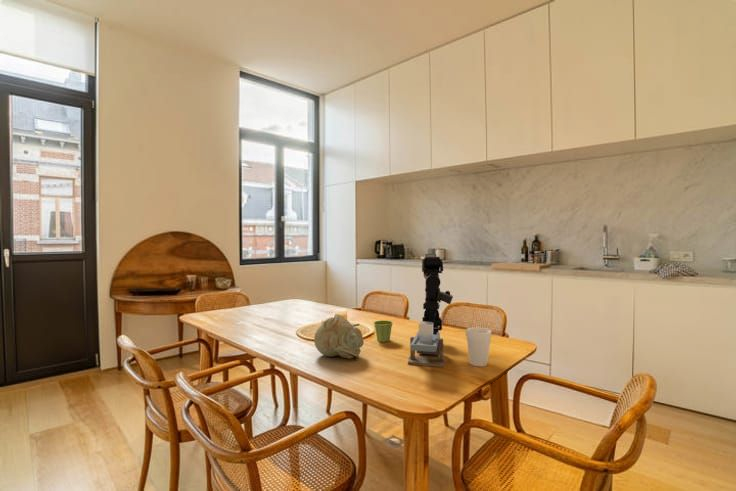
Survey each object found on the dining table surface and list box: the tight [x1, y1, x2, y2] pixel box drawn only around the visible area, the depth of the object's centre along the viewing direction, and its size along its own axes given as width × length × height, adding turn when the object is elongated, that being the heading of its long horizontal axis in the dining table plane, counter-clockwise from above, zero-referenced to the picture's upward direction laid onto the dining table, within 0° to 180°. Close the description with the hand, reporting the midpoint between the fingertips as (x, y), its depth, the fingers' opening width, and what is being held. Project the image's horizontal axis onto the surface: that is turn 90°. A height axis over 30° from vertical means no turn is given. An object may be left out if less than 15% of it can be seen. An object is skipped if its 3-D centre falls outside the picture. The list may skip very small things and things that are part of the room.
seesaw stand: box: [407, 336, 446, 368], centre depth 145 cm, size 8×14×10 cm, turn 76°
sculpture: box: [313, 313, 365, 360], centre depth 154 cm, size 18×20×20 cm
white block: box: [418, 321, 433, 343], centre depth 143 cm, size 6×5×7 cm
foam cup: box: [465, 326, 492, 367], centre depth 143 cm, size 10×9×13 cm
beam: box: [409, 330, 441, 356], centre depth 143 cm, size 28×9×8 cm, turn 166°
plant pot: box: [373, 320, 394, 343], centre depth 176 cm, size 9×9×9 cm
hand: (432, 322), depth 157 cm, fingers closed
